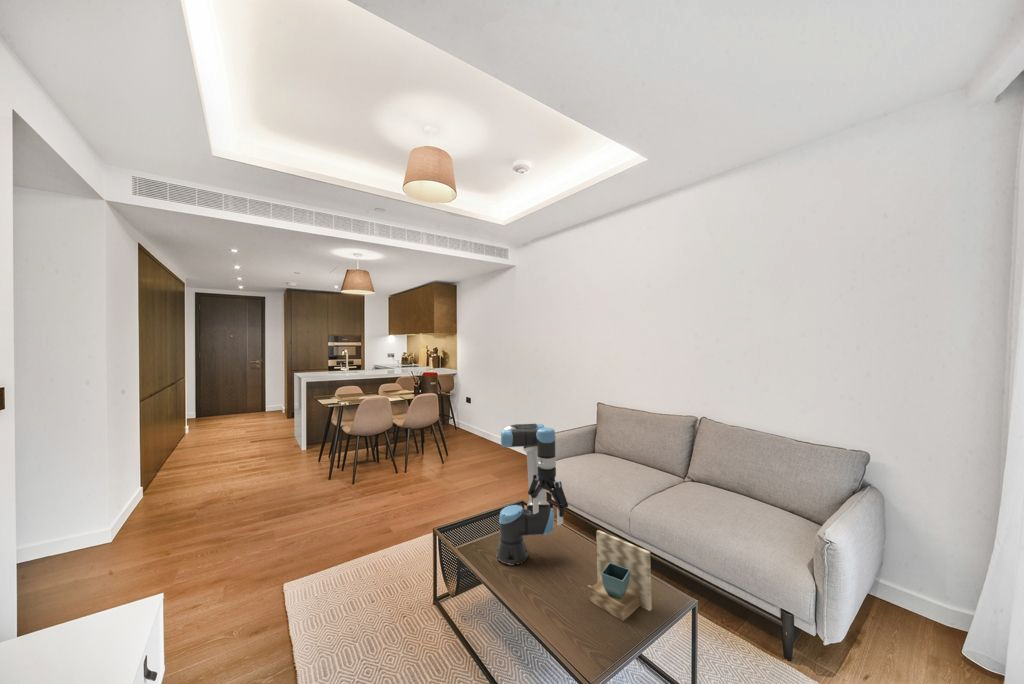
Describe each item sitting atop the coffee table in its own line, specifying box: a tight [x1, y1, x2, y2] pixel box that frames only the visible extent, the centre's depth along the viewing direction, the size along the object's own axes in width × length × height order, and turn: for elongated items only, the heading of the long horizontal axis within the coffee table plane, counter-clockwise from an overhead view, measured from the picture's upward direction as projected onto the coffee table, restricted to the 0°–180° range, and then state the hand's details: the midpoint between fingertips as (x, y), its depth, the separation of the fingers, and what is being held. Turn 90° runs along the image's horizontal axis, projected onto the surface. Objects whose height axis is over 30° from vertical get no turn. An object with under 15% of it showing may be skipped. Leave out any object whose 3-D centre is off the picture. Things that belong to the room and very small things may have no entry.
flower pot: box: [601, 563, 630, 599], centre depth 145 cm, size 9×9×9 cm
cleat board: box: [587, 529, 653, 622], centre depth 147 cm, size 24×14×22 cm, turn 42°
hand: (547, 518), depth 151 cm, fingers open, 13 cm apart
